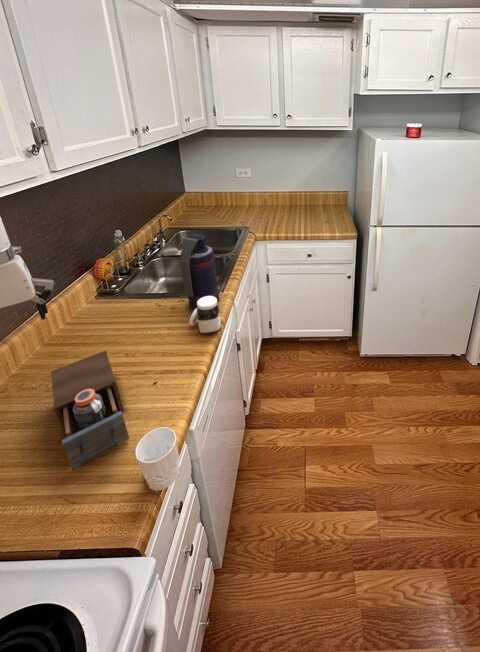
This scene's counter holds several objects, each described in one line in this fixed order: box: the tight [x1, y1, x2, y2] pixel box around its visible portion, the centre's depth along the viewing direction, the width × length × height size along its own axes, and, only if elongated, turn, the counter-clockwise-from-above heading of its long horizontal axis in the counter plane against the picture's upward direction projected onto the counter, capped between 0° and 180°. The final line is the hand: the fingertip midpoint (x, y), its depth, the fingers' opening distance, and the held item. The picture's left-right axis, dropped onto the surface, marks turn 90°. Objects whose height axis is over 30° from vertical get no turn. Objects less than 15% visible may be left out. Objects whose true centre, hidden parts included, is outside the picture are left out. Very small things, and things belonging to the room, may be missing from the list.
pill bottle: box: [73, 389, 108, 431], centre depth 80 cm, size 6×6×11 cm
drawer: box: [61, 387, 130, 470], centre depth 79 cm, size 18×12×8 cm, turn 39°
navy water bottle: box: [178, 233, 220, 310], centre depth 130 cm, size 14×12×30 cm
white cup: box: [134, 426, 180, 492], centre depth 72 cm, size 8×8×10 cm
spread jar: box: [188, 296, 222, 335], centre depth 120 cm, size 12×11×12 cm
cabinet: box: [50, 350, 125, 438], centre depth 89 cm, size 15×13×10 cm
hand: (17, 324), depth 75 cm, fingers open, 9 cm apart
